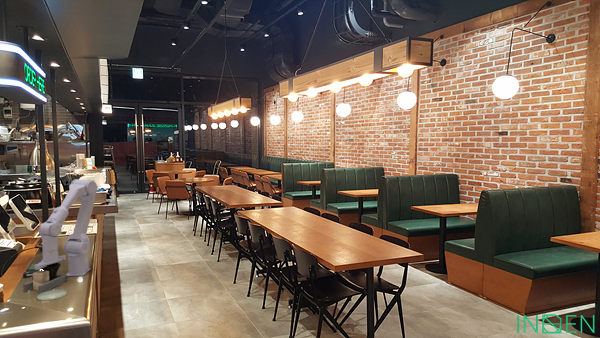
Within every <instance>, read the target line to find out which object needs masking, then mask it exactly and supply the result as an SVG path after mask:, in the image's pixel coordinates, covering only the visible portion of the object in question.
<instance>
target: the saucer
mask: <svg viewBox="0 0 600 338" xmlns="http://www.w3.org/2000/svg"><path fill="white" fill-rule="evenodd" d="M67 294H68V293H67V290H66V289H59V288H58V289H50V290H48V291H45V292H43V293H38V294H37V296H36V299H37V300H38V301H43V302H45V301H46V302H47V301H48V302H49V301H55V300H58V299H61V298H64V297H65V296H66V295H67Z"/></svg>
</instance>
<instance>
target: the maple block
mask: <svg viewBox="0 0 600 338" xmlns="http://www.w3.org/2000/svg"><path fill="white" fill-rule="evenodd" d="M32 281H33V289H32V290H33V291H38V286H39V285H42V284H44V283H46V282H49V271H42V270H41V271H38V272H35V273H33V277H32Z"/></svg>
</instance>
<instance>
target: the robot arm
mask: <svg viewBox="0 0 600 338" xmlns="http://www.w3.org/2000/svg"><path fill="white" fill-rule="evenodd" d="M68 188H69V191H68V192H67V194H66V196H65V198H64V199H63V200H62V202H61V205H60V206H58V207H55V208H54V209H53V210H52V213H51V214H50V216H49V217H48V219H47V220H46V221H45V222H43V223H42V224H41V225H40V226H39V228H38V234H39V235H40V239H41V241H42V242H41V244H42V245H41V246H42V259H41V261H40V262H38V263H35V264H36V265H35V270H40V269H41V268H42V269H43V270H44V271H49V281H51V280H53V279H55V277H56V274H58V270H59V268H60V267H61V263H59V262H61V261H66V260H67V261H68V262H67V265H68V267H67V268H68V270H67V271H68V272H66V274H65V275H67V277H81V276H82V277H83V276H84V275H86V274H87V273H88V272H89V271H91V267H90V266H89V255H88V253H89V251H90V250H91V249H90V248H91V246H90V242H91V239H90V238H89V236H88V235H87V233H88V229H89V225H90V220H91V217H92V213H93V210H94V205H95V202H96V194H97V192H98V185H97V183H96V180H93V179H78V178H77V179H76V178H74V179H73V180H72V181H71V182H70V184H69V185H68ZM78 198H80V200H81V203H80V206H79V209H78V213H77V216H76V221H75V223H74V224H75V226H74V229H73V232H72V233H71V234H69V236H67V239H66V241H65V243H64V245H63V251H64V252H65V253H66V255H65V254H61V255H59V235H60V234H61V232H62V227H63V223H64V222H65V220H66V219H67V218H68V216H69V209H70V208H71V207H72V205H73V204H74V203H75V202H76V200H77V199H78Z"/></svg>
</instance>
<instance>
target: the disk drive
mask: <svg viewBox="0 0 600 338" xmlns="http://www.w3.org/2000/svg"><path fill="white" fill-rule="evenodd" d="M36 264H37V263H32V264H30V265H29V266H28V267H27V268H26V269H25V271H24V272H23V273H22V279H30V277H32V278H33V273H35V272H38V271H39V270H35V265H36ZM41 269H42V268H41Z"/></svg>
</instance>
